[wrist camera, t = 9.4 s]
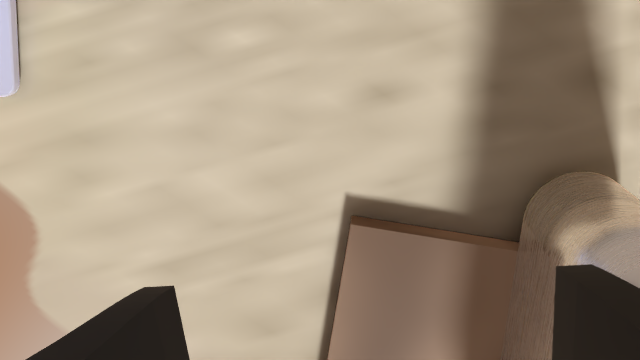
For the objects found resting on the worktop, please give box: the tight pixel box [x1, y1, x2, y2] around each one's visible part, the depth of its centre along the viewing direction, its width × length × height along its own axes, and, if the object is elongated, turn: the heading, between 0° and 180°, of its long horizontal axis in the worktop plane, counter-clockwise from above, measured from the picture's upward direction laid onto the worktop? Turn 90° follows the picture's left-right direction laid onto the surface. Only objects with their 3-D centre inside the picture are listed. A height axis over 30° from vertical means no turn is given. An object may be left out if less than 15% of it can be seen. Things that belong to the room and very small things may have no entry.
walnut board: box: [327, 216, 519, 360], centre depth 20 cm, size 16×8×1 cm, turn 82°
